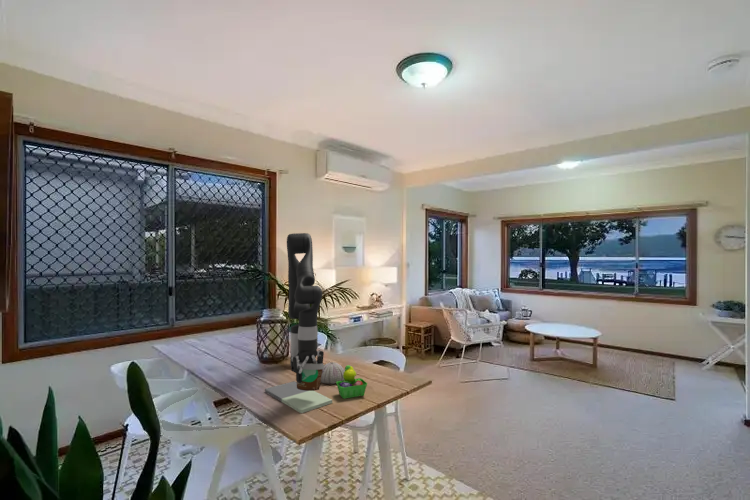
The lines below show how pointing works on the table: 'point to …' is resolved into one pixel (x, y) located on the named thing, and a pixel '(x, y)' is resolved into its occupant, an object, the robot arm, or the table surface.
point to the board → (298, 397)
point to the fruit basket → (351, 384)
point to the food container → (310, 377)
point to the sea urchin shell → (332, 373)
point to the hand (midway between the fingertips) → (307, 380)
